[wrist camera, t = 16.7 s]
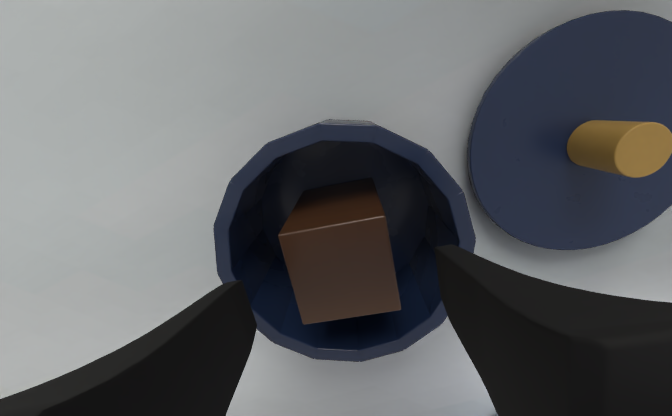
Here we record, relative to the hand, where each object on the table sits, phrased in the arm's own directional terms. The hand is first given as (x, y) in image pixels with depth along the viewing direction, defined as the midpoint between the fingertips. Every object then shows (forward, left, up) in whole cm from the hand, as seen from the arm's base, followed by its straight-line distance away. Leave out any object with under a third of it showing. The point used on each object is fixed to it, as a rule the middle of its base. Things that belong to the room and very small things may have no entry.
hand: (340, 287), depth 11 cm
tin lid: (+10, -10, -8) cm, 16 cm away
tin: (0, 0, -8) cm, 8 cm away
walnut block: (0, 0, -8) cm, 8 cm away
